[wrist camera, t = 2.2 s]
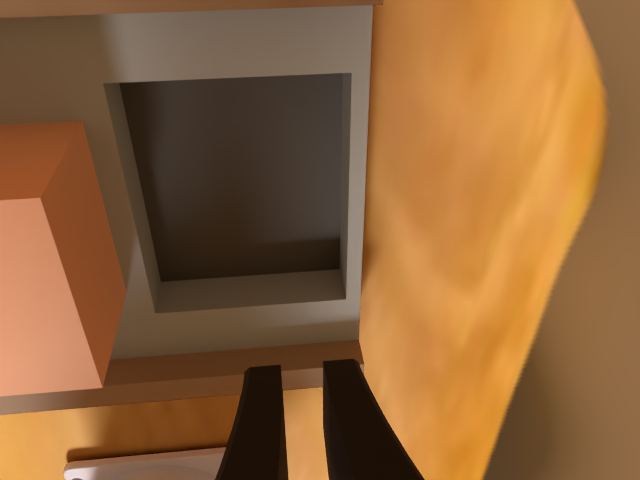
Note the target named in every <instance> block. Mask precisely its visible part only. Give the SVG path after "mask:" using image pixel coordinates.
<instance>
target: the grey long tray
mask: <svg viewBox="0 0 640 480" xmlns="http://www.w3.org/2000/svg"><path fill="white" fill-rule="evenodd" d="M373 5H383V0H0V125H9V124H29V123H50V122H71V121H83V125H84V129H85V133H86V137H87V140H88V144H89V148H90V152H91V156H92V160H93V164H94V168H95V172H96V175H97V179H98V183H99V187H100V191H101V195H102V199H103V203H104V207H105V210H106V214H107V218H108V222H109V226H110V230H111V234H112V238H113V242H114V245H115V249H116V253H117V257H118V261H119V265H120V269H121V273H122V276H123V280H124V284H125V288H126V292H127V293H126V297H125V301H124V305H123V309H122V313H121V317H120V321H119V325H118V329H117V333H116V337H115V341H114V345H113V349H112V353H111V356H110V360H109V364H108V368H107V372H106V376H105V380H104V384H103V388H96V389H84V390H72V391H60V392H48V393H36V394H24V395H13V396H1V397H0V415H6V414H17V413H29V412H40V411H52V410H63V409H75V408H87V407H98V406H110V405H121V404H133V403H144V402H156V401H167V400H179V399H190V398H202V397H213V396H225V395H237V394H241V392H242V387H243V381H244V372H245V371H246V370H247V369H248V368H249V367H257V366H269V365H281V375H282V390H294V389H306V388H317V387H323V361H330V360H342V359H355V360H356V361H358V362H359V364H360V367H361V370H362V372H363V374H364V361H363V357H362V352H361V348H360V343H359V322H360V299H361V276H362V252H363V229H364V206H365V182H366V159H367V135H368V112H369V89H370V65H371V42H372V18H373Z"/></svg>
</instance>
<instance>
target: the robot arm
mask: <svg viewBox="0 0 640 480" xmlns="http://www.w3.org/2000/svg"><path fill="white" fill-rule="evenodd" d="M323 429H324V438H325V448H326V457H327V466H328V475H329V480H425V479H424V478H423V477H422V475H421V474H420V472H419V471H418V469H417V468H416V466H415V465H414V463H413V462H412V460H411V459H410V457H409V456H408V454H407V452H406V451H405V449H404V448H403V446H402V444H401V443H400V441H399V439H398V438H397V436H396V435H395V433H394V431H393V430H392V428H391V426H390V425H389V423H388V421H387V419H386V418H385V416H384V414H383V412H382V410H381V409H380V407H379V405H378V403H377V401H376V399H375V397H374V395H373V393H372V391H371V390H370V387H369V385H368V383H367V381H366V379H365V377H364V374H363V372H362V370H361V367H360V364H359V362H358V361H356V360H355V359H342V360H330V361H323ZM63 475H64V478H65V480H288V466H287V451H286V435H285V420H284V405H283V390H282V375H281V365H269V366H257V367H249V368H248V369H247V370H246V371H245V372H244V381H243V387H242V392H241V397H240V402H239V406H238V410H237V414H236V417H235V421H234V424H233V428H232V431H231V434H230V437H229V440H228V443H227V446H226V447H221V448H211V449H200V450H189V451H179V452H168V453H157V454H147V455H136V456H125V457H115V458H104V459H93V460H83V461H73V462H69V463H68V464H66V466H65V468H64V471H63Z"/></svg>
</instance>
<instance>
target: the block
mask: <svg viewBox="0 0 640 480" xmlns="http://www.w3.org/2000/svg"><path fill="white" fill-rule="evenodd" d="M126 293H127V292H126V288H125V284H124V280H123V276H122V273H121V269H120V265H119V261H118V257H117V253H116V249H115V245H114V242H113V238H112V234H111V230H110V226H109V222H108V218H107V214H106V210H105V207H104V203H103V199H102V195H101V191H100V187H99V183H98V179H97V175H96V172H95V168H94V164H93V160H92V156H91V152H90V148H89V144H88V140H87V137H86V133H85V129H84V125H83V121H71V122H50V123H29V124H9V125H0V397H1V396H13V395H24V394H36V393H48V392H60V391H72V390H84V389H96V388H103V384H104V380H105V376H106V372H107V368H108V364H109V360H110V356H111V353H112V349H113V345H114V341H115V337H116V333H117V329H118V325H119V321H120V317H121V313H122V309H123V305H124V301H125V297H126Z"/></svg>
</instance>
